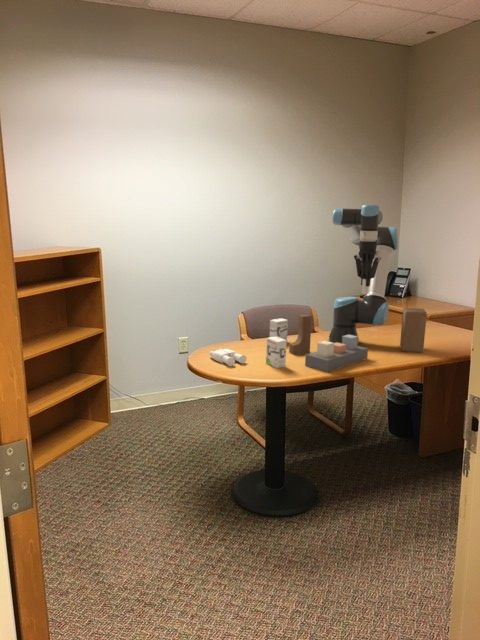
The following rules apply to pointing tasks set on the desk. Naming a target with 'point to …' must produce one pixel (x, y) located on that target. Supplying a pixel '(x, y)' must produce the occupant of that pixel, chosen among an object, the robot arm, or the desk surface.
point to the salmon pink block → (339, 348)
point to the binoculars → (227, 356)
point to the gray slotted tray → (336, 359)
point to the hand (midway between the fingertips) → (364, 293)
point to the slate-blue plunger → (350, 341)
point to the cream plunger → (325, 349)
